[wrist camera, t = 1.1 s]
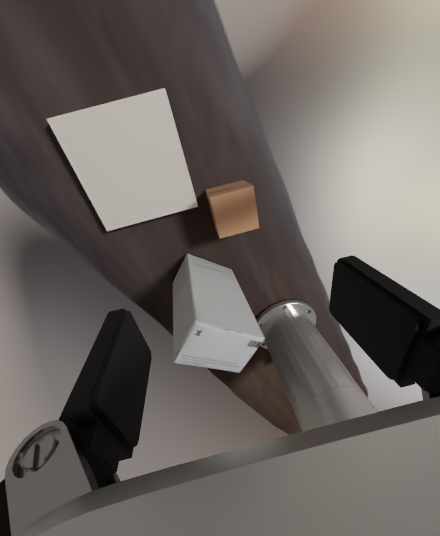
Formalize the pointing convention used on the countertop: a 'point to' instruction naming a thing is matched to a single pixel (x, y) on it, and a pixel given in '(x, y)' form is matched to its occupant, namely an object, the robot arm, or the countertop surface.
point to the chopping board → (128, 158)
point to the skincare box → (212, 318)
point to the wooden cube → (233, 208)
